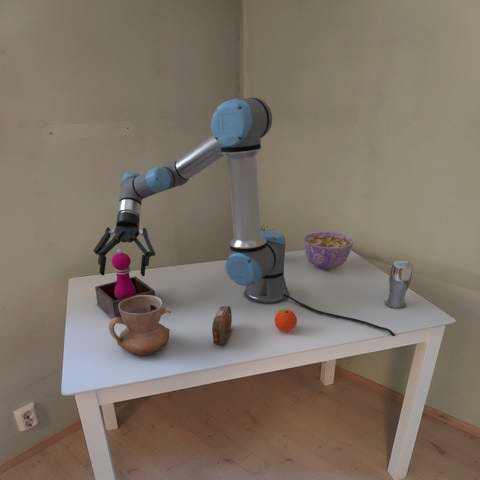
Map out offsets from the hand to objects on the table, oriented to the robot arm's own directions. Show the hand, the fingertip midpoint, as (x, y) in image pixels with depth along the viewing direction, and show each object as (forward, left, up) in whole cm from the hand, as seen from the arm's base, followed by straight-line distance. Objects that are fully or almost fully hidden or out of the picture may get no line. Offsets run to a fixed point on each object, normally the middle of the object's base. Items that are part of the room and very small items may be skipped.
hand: (122, 274), depth 149 cm
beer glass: (-53, -77, -13) cm, 94 cm away
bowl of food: (-14, -83, -13) cm, 85 cm away
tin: (-35, -16, -13) cm, 40 cm away
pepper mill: (+1, -1, -12) cm, 12 cm away
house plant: (+6, -62, -13) cm, 63 cm away
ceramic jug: (-26, +6, -13) cm, 30 cm away
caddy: (+1, -1, -13) cm, 13 cm away
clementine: (-43, -34, -13) cm, 56 cm away
